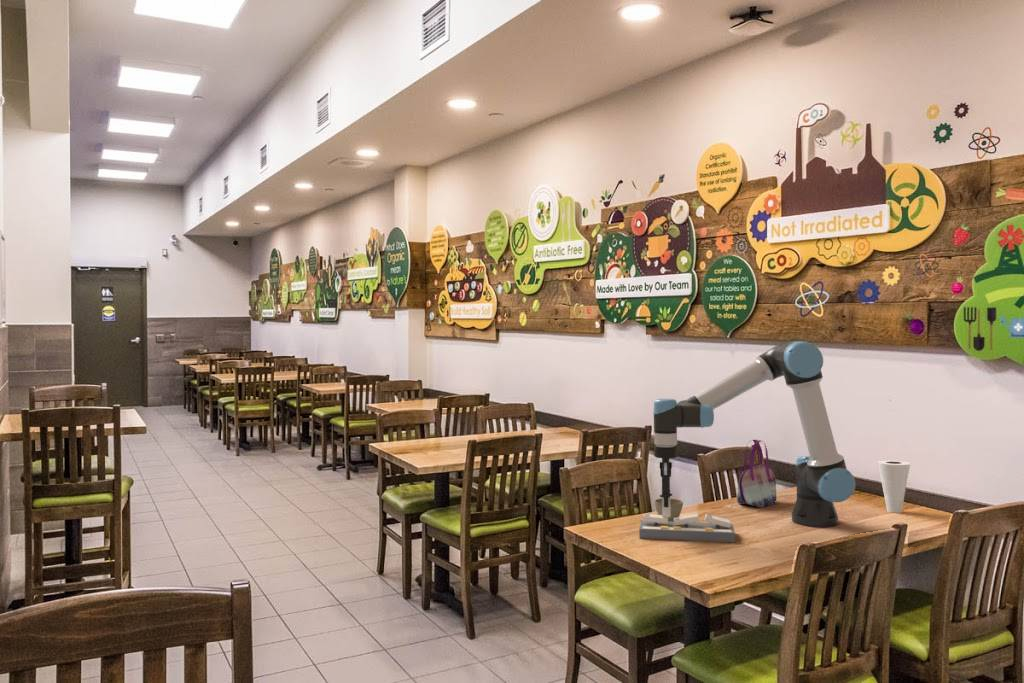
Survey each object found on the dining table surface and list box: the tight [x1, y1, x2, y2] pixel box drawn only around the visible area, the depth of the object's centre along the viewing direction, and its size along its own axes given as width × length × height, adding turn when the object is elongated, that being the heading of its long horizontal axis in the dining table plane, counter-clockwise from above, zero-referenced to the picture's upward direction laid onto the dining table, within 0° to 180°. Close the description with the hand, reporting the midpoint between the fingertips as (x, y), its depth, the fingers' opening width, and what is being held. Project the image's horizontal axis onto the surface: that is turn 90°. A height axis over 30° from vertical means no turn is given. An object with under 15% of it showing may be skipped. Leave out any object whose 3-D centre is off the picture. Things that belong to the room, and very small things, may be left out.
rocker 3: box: [704, 513, 732, 528], centre depth 245 cm, size 8×4×2 cm, turn 77°
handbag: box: [736, 439, 777, 508], centre depth 291 cm, size 21×10×25 cm, turn 125°
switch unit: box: [638, 519, 736, 543], centre depth 246 cm, size 30×12×4 cm, turn 77°
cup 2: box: [877, 459, 911, 514], centre depth 276 cm, size 11×11×18 cm
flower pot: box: [653, 498, 684, 522], centre depth 266 cm, size 10×10×7 cm
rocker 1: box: [642, 513, 668, 524], centre depth 250 cm, size 8×4×2 cm, turn 77°
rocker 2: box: [674, 513, 700, 526], centre depth 247 cm, size 8×4×2 cm, turn 77°
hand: (666, 516), depth 249 cm, fingers closed
